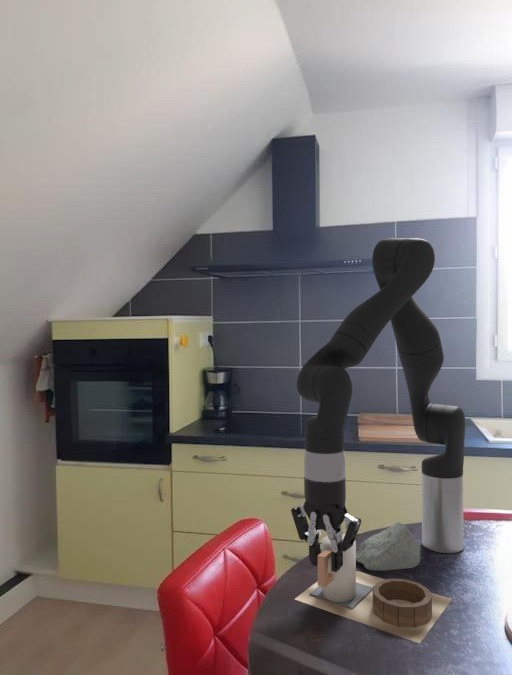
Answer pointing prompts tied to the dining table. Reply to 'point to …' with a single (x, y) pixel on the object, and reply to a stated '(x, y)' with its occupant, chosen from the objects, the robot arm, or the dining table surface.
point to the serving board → (385, 605)
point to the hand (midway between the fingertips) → (325, 566)
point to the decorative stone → (390, 550)
